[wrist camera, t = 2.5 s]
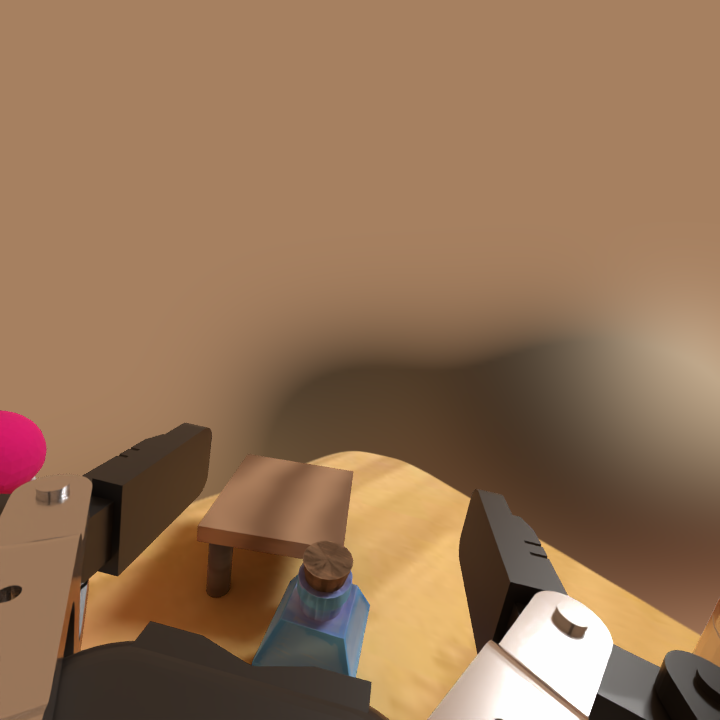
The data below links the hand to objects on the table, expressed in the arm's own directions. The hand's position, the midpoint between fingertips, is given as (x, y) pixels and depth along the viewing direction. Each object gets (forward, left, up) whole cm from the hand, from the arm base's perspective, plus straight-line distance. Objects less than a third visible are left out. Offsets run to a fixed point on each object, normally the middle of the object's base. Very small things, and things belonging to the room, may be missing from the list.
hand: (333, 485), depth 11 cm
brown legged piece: (+5, -22, -24) cm, 33 cm away
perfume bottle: (0, -10, -24) cm, 26 cm away
